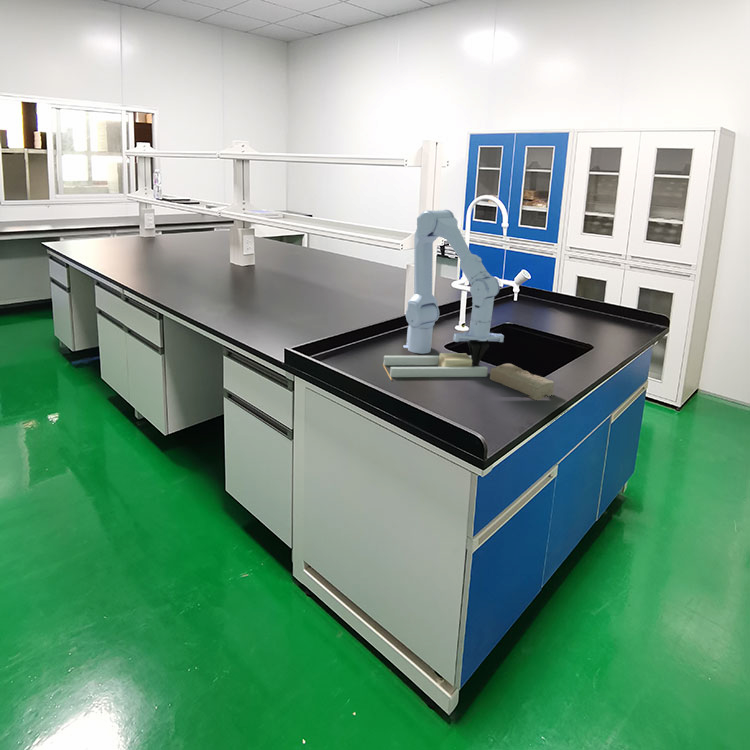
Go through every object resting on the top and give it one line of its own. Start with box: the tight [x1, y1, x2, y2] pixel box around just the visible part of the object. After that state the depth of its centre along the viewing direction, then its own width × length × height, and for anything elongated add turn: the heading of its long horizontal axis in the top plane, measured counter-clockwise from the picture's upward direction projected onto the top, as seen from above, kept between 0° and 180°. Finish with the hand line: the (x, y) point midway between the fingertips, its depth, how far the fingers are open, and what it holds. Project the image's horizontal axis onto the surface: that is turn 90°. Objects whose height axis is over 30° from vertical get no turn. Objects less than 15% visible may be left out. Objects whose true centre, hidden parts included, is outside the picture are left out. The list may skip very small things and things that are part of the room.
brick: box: [489, 363, 555, 401], centre depth 166 cm, size 16×8×5 cm, turn 40°
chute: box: [382, 355, 489, 382], centre depth 173 cm, size 12×28×3 cm, turn 101°
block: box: [437, 352, 473, 367], centre depth 174 cm, size 6×8×4 cm
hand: (475, 364), depth 175 cm, fingers closed
